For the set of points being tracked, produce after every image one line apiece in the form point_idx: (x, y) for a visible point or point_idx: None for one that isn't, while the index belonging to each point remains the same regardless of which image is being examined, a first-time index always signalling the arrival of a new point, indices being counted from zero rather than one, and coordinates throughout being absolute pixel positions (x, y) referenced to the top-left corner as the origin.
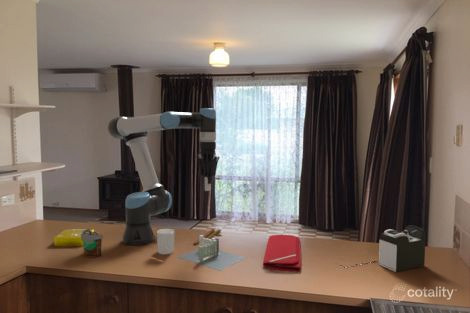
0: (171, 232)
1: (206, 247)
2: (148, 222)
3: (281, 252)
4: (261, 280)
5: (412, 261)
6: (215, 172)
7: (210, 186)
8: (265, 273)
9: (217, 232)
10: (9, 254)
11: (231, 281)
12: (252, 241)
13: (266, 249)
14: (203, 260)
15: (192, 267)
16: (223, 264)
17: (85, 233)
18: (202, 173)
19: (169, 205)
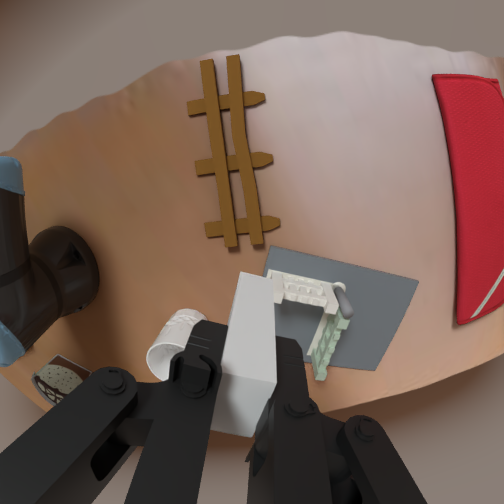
0: (178, 339)
1: (330, 356)
2: (56, 291)
3: (494, 251)
4: (447, 359)
5: None
6: (398, 466)
7: (272, 303)
8: (455, 332)
9: (241, 86)
10: (15, 383)
11: (400, 386)
12: (396, 121)
13: (462, 224)
14: None
15: (307, 373)
16: (374, 343)
17: (46, 393)
18: (135, 443)
19: (15, 179)
